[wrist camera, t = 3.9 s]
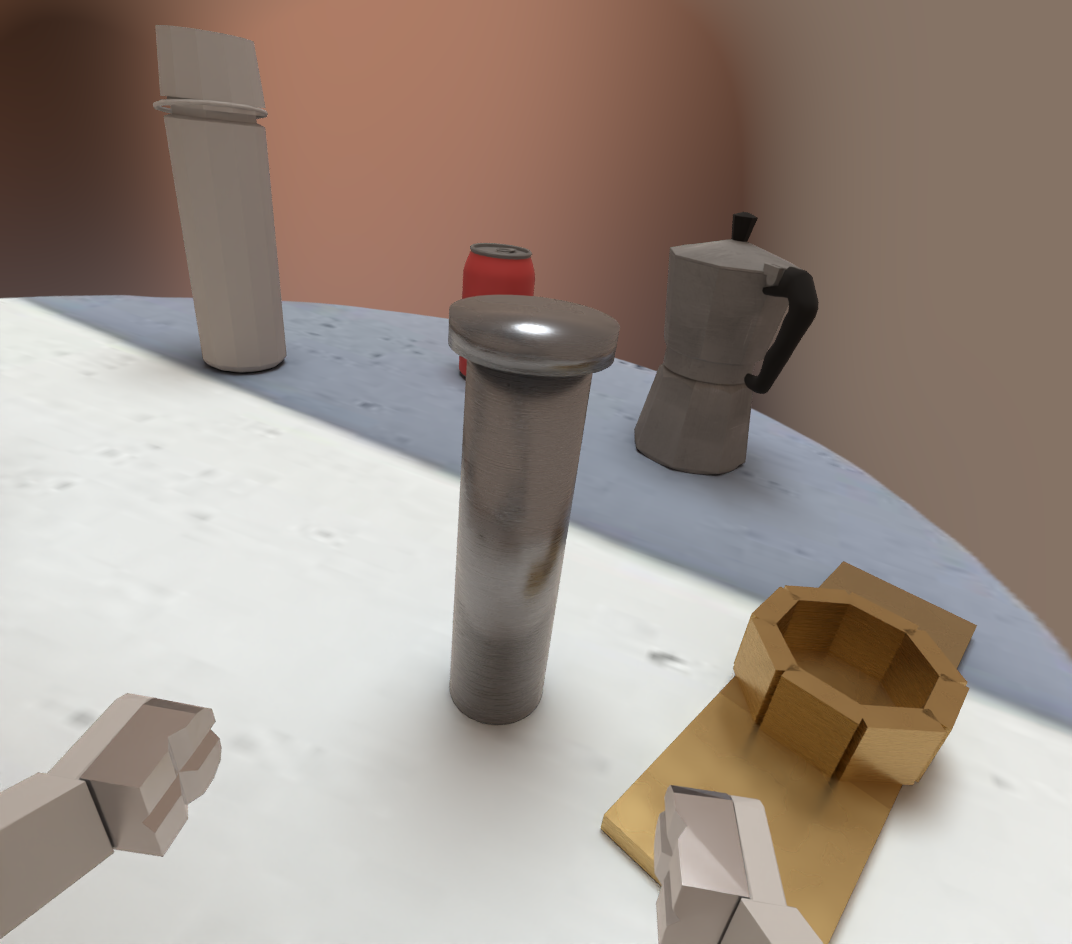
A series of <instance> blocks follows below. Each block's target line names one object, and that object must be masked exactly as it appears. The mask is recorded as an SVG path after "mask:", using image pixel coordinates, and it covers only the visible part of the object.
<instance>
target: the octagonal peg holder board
mask: <svg viewBox="0 0 1072 944" xmlns="http://www.w3.org/2000/svg"><path fill="white" fill-rule="evenodd" d="M976 626H977V625H975V624H973V623H971V622H969V621H967V620H965V619H962V618H960V617H958V616H956V615H954V614H952V613H950V612H948V611H946V610H944V609H942V608H940V607H937V606H935V605H933V604H931V603H929V602H927V601H925V600H923V599H921V598H919V597H917V596H915V595H913V594H910V593H908V592H906V591H904V590H902V589H900V588H898V587H896V586H894V585H892V584H890V583H888V582H886V581H883V580H881V579H879V578H877V577H875V576H873V575H871V574H869V573H867V572H865V571H863V570H861V569H859V568H856V567H854V566H852V565H850V564H848V563H846V562H844V561H843V562H842V563H841V564H840V566H839V567H838V568H837V569H836V570H835V571H834V572H833V573H832V574H831V575H830V576H829V577H828V578H827V579H826V580H825V581H824V582H823V584H822V585H821V586H820V587H819V588H813V587H800V586H787V585H785V587H784V588H782V587H779V588H778V589H777V590H776V591H775V592H774V593H773V594H772V595H771V596H770V597H769V598H768V599H767V600H766V601H765V602H763V603H762V604H761V605H760V606H759V607H758V608H757V609H756V610H755V611H754V612H753V613H752V614H751V617H750V620H749V623H748V625H747V628H746V631H745V634H744V637H743V639H742V642H741V645H740V648H739V651H738V653H737V656H736V659H735V662H734V667H733V670H734V672H735V675H736V676H735V677H734V678H733V679H732V680H731V681H730V682H729V683H728V684H727V685H726V686H725V687H724V688H723V689H722V690H721V691H720V692H719V694H718V695H717V696H716V697H715V698H714V699H713V700H712V701H711V702H710V703H709V704H708V705H707V706H706V707H705V708H704V709H703V710H702V712H701V713H700V714H699V715H698V716H697V717H696V718H695V719H694V720H693V721H692V722H691V723H690V724H689V725H688V726H687V727H686V728H685V729H684V731H683V732H682V733H681V734H680V735H679V736H678V737H677V738H676V739H675V740H674V741H673V742H672V743H671V744H670V745H669V746H668V747H667V749H666V750H665V751H664V752H663V753H662V754H661V755H660V756H659V757H658V758H657V759H656V760H655V761H654V762H653V763H652V764H651V765H650V767H649V768H648V769H647V770H646V771H645V772H644V773H643V774H642V775H641V776H640V777H639V778H638V779H637V780H636V781H635V782H634V783H633V784H632V786H631V787H630V788H629V789H628V790H627V791H626V792H625V793H624V794H623V795H622V796H621V797H620V798H619V799H618V800H617V801H616V802H615V804H614V805H613V806H612V807H611V808H610V809H609V810H608V811H607V812H606V813H605V814H604V817H603V821H602V825H601V829H602V830H603V831H604V832H605V833H606V834H607V835H608V836H609V837H610V838H611V839H612V840H613V841H614V842H615V843H617V844H618V845H619V846H620V847H621V848H622V849H623V850H624V851H625V852H626V853H627V854H628V855H629V856H630V857H631V858H632V859H633V860H634V861H635V862H636V863H638V864H639V865H640V866H641V867H642V868H643V869H644V870H645V871H646V872H647V873H648V874H649V875H650V876H651V877H652V878H653V879H654V880H655V881H656V882H657V883H659V884H660V885H661V883H660V882H659V880H658V878H657V877H656V875H655V871H654V840H655V832H656V825H657V821H658V817H659V814H660V813H662V812H663V811H665V799H664V797H665V794H666V791H667V788H668V787H669V786H670V785H675V786H682V787H688V788H695V789H702V790H708V791H715V792H721V793H727V794H728V795H733V796H740V797H747V798H754V799H758V800H760V801H761V803H762V804H763V806H764V808H765V813H766V817H767V821H768V826H769V830H770V834H771V839H772V843H773V847H774V852H775V856H776V860H777V865H778V869H779V873H780V877H781V882H782V886H783V890H784V895H785V899H786V903H787V906H790V907H795V908H797V909H798V910H799V912H800V913H801V914H802V916H803V917H804V918H805V920H806V921H807V922H808V924H809V925H810V926H811V928H812V929H813V930H814V932H815V933H816V934H817V936H818V937H819V938H820V940H821V941H822V942H823V944H828V943H829V941H830V939H831V936H832V934H833V932H834V930H835V928H836V926H837V924H838V921H839V919H840V917H841V915H842V913H843V911H844V909H845V906H846V904H847V902H848V900H849V898H850V896H851V894H852V892H853V889H854V887H855V885H856V883H857V881H858V879H859V877H860V874H861V872H862V870H863V868H864V866H865V864H866V862H867V859H868V857H869V855H870V853H871V851H872V849H873V847H874V844H875V842H876V840H877V838H878V836H879V834H880V832H881V830H882V827H883V825H884V823H885V821H886V819H887V817H888V815H889V812H890V810H891V808H892V806H893V804H894V802H895V800H896V797H897V795H898V793H899V791H900V789H901V787H902V785H913V784H914V782H915V781H916V782H919V780H920V779H921V777H922V776H923V774H924V773H925V771H926V769H927V768H928V766H929V765H930V763H931V762H932V760H933V758H934V757H935V755H936V754H937V752H938V751H939V749H940V748H941V746H942V744H943V743H944V741H945V740H946V738H947V737H948V735H949V734H950V732H951V730H952V728H953V726H954V724H955V721H956V719H957V716H958V714H959V712H960V709H961V707H962V705H963V702H964V700H965V697H966V695H967V693H968V690H969V688H968V687H966V684H967V681H966V680H965V679H964V678H963V676H962V675H961V674H960V673H959V671H958V670H957V667H958V665H959V663H960V661H961V659H962V656H963V654H964V652H965V650H966V648H967V646H968V644H969V641H970V639H971V637H972V635H973V633H974V631H975V629H976ZM661 886H662V885H661Z"/></svg>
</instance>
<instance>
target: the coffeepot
mask: <svg viewBox="0 0 1072 944" xmlns="http://www.w3.org/2000/svg"><path fill="white" fill-rule="evenodd" d="M756 221H757V217H755V216H754V215H752V214H750V213H747V212H742V213H737V214H733V224H732V239H730V240H722V241H715V242H707V243H700V244H691V245H682V246H677V247H671V248H670V255H669V270H668V286H667V301H666V316H665V332H664V338H665V343H666V345H667V349H666V353H665V357H664V363H663V364H661V365H660V366H659V369H658V371H657V374H656V376H655V379H654V381H653V384H652V386H651V389H650V391H649V394H648V396H647V399H646V402H645V404H644V407H643V409H642V412H641V414H640V417H639V419H638V422H637V424H636V427H635V429H634V430H635V444H636V446H637V449H638V450H639V451H640V452H642V453H643V454H644V455H645V456H646V457H648V458H650V459H651V460H653V461H655V462H657V463H659V464H661V465H664V466H666V467H669V468H672V469H675V470H679V471H683V472H688V473H694V474H705V475H711V474H723V473H727V472H730V471H732V470H734V469H736V468H737V467H738V466H739V465H740V464H743V463H745V459H746V450H747V441H748V431H749V422H750V413H751V404H752V395H753V391H754V392H756V393H760V394H764V393H766V392H768V390H769V389H770V388H771V386H772V384H773V383H774V381H775V380H776V378H777V377H778V375H779V374H780V372H781V371H782V369H783V367H784V366H785V364H786V363H787V361H788V360H789V358H790V356H791V355H792V353H793V351H794V349H795V348H796V346H797V345H798V343H799V342H800V340H801V338H802V337H803V335H804V334H805V332H806V331H807V329H808V328H809V326H810V325H811V323H812V322H813V320H814V318H815V316H816V313H817V310H818V298H817V294H816V290H815V286H814V282H813V278H812V276H811V275H810V274H809V273H808V272H807V271H805V270H802V269H800V268H799V267H797V266H795V265H794V264H792V263H790V262H788V261H786V260H784V259H782V258H780V257H778V256H776V255H774V254H771V253H769V252H767V251H765V250H763V249H761V248H759V247H757V246H755V245H753V244H751V243H749V242H747V241H748V238H749V236H750V234H751V232H752V229H753V227H754V225H755V223H756ZM788 305H789V311H788V313H787V315H786V317H785V319H784V321H783V323H782V326H781V329H780V331H779V333H778V336H777V338H776V340H775V342H774V344H773V345H772V346H771V348H770V349H769V350H768V348H769V346H770V343H771V341H772V339H773V337H774V335H775V333H776V331H777V328H778V326H779V324H780V322H781V320H782V318H783V315H784V313H785V311H786V309H787V307H788ZM767 350H768V351H767ZM766 352H767V353H766ZM765 354H766V355H765ZM762 359H764V361H763V365H762V369H761V372H760V374H759V375H758V376H754V375H752V373H753V369H754V366H755V362H757V361H760V360H762Z"/></svg>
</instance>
